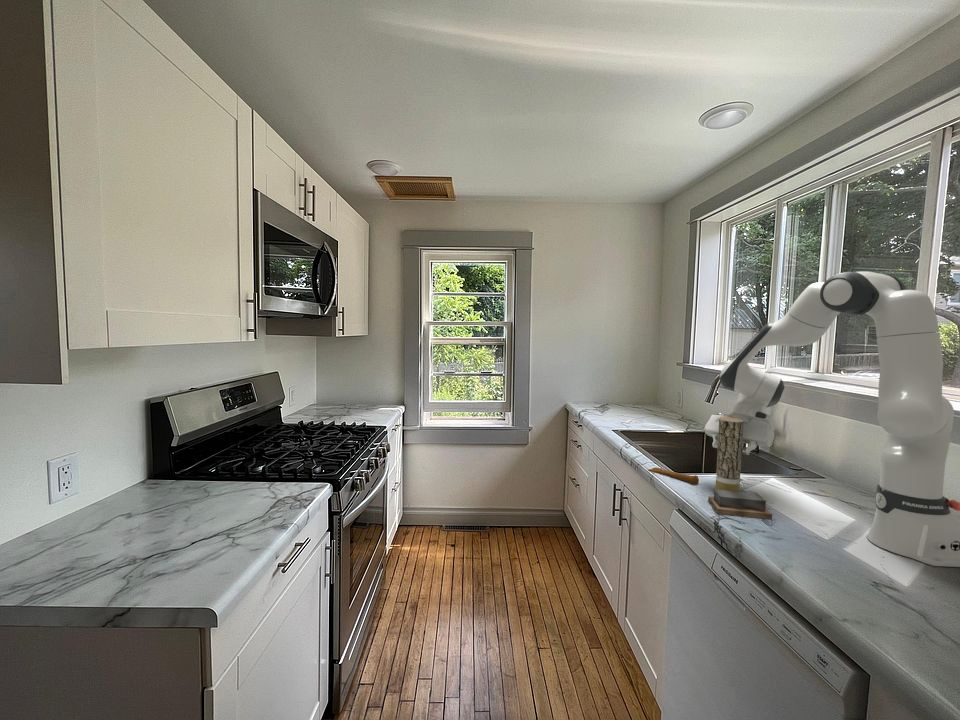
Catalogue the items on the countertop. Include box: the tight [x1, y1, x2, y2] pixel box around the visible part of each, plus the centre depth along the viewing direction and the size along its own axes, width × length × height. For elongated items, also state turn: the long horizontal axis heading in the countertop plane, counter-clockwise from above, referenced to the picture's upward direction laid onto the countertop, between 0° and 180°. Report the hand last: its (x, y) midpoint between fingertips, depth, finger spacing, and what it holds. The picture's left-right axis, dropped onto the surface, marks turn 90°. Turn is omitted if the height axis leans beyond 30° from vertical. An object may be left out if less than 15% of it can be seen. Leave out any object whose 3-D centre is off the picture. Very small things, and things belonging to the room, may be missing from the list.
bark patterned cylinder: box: [715, 416, 743, 492], centre depth 141 cm, size 7×7×25 cm
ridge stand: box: [707, 488, 773, 520], centre depth 128 cm, size 14×10×4 cm
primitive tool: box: [647, 467, 700, 486], centre depth 158 cm, size 19×6×4 cm, turn 32°
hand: (729, 450), depth 141 cm, fingers open, 8 cm apart
